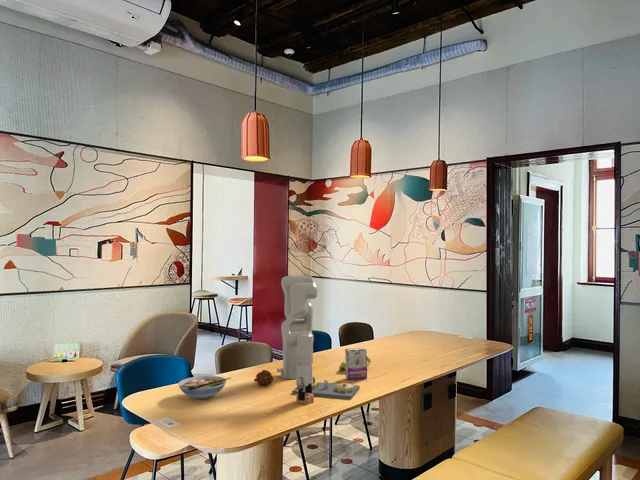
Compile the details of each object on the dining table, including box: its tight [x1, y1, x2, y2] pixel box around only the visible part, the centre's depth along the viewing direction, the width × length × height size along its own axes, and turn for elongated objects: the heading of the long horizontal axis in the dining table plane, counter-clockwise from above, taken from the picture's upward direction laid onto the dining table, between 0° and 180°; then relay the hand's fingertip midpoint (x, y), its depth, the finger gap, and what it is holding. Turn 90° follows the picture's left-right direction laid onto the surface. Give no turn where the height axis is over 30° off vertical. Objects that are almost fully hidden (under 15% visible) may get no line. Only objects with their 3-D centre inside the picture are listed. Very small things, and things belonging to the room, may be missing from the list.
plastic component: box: [338, 356, 372, 371], centre depth 275 cm, size 20×7×10 cm
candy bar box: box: [344, 347, 368, 381], centre depth 255 cm, size 11×5×16 cm, turn 105°
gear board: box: [291, 376, 361, 400], centre depth 232 cm, size 30×18×6 cm, turn 72°
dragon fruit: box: [253, 369, 274, 387], centre depth 243 cm, size 8×8×12 cm
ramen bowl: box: [178, 375, 231, 400], centre depth 224 cm, size 25×23×8 cm
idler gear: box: [295, 393, 315, 405], centre depth 216 cm, size 8×7×3 cm
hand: (305, 397), depth 216 cm, fingers open, 9 cm apart
